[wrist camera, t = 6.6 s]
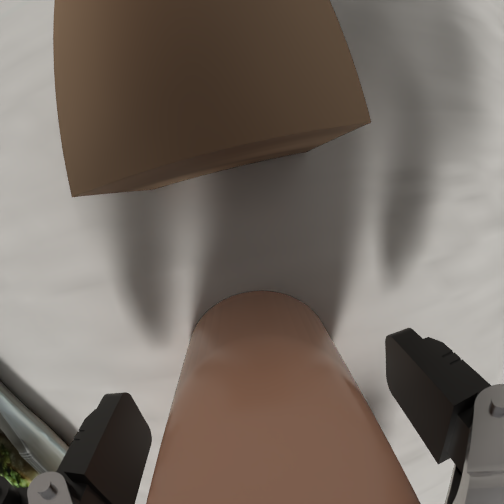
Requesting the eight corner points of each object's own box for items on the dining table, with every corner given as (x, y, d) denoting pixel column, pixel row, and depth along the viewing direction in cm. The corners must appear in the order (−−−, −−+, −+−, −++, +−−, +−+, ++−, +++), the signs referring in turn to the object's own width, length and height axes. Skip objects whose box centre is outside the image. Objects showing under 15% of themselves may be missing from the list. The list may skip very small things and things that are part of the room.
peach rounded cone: (348, 309, 10) (485, 487, 3) (299, 415, 11) (342, 589, 3) (207, 272, 10) (135, 500, 2) (178, 391, 11) (134, 581, 3)
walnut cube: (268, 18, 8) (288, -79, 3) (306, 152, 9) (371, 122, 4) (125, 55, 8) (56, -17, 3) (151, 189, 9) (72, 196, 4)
